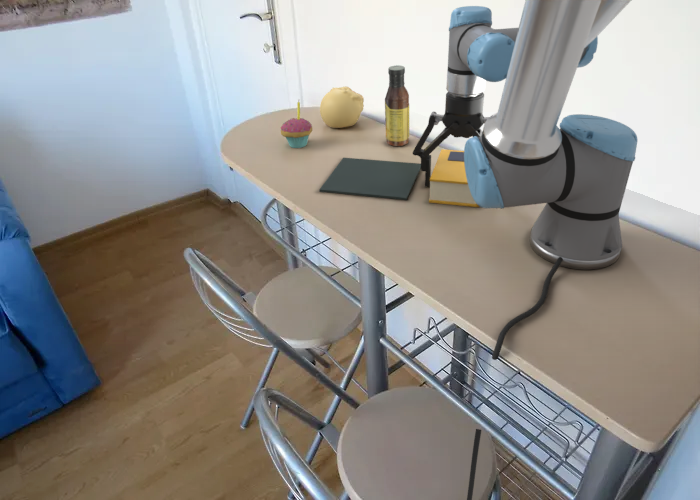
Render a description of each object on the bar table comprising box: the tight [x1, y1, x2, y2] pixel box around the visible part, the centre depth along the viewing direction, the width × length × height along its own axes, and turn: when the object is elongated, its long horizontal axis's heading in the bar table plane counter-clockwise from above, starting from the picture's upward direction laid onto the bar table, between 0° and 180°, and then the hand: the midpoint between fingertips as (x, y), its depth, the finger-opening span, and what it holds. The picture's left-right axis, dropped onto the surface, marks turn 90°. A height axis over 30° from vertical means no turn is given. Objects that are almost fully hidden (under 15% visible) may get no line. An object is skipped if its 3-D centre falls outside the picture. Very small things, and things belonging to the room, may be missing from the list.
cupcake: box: [280, 99, 313, 149], centre depth 138 cm, size 9×8×12 cm
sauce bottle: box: [384, 64, 410, 147], centre depth 134 cm, size 7×6×20 cm
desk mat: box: [318, 157, 421, 201], centre depth 122 cm, size 18×20×1 cm
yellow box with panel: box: [428, 148, 480, 208], centre depth 114 cm, size 16×10×6 cm, turn 163°
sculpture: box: [319, 86, 365, 129], centre depth 150 cm, size 12×12×11 cm
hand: (458, 187), depth 116 cm, fingers open, 13 cm apart
